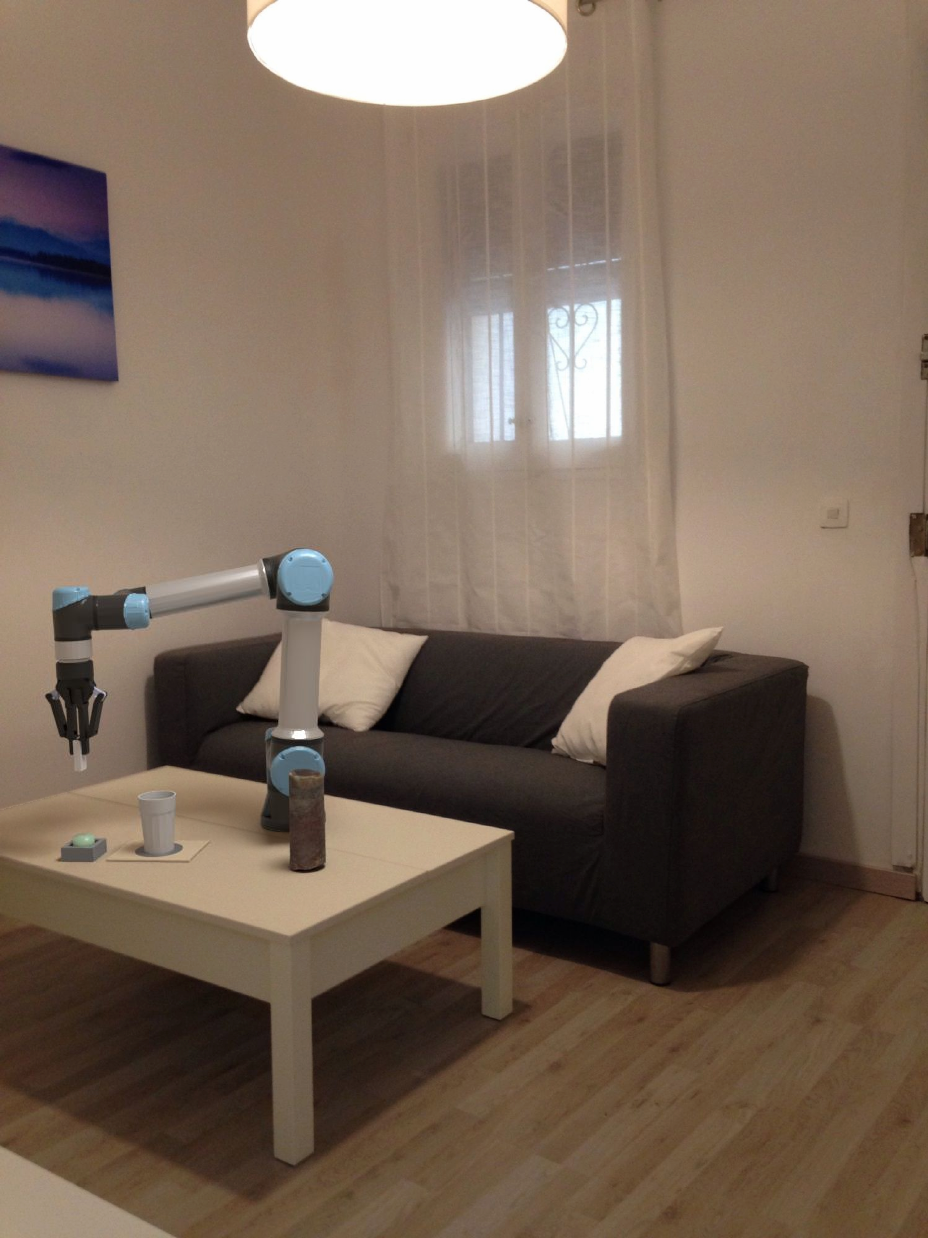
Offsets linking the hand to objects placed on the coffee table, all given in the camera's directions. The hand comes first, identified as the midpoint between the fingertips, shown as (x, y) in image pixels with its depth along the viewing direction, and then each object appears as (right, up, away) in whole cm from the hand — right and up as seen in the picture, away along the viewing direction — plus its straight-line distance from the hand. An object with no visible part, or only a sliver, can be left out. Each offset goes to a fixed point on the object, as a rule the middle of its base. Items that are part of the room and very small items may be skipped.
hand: (80, 769), depth 238 cm
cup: (+16, -18, +4) cm, 24 cm away
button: (0, -18, +2) cm, 18 cm away
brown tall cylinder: (+50, -19, -8) cm, 54 cm away
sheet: (+15, -18, +4) cm, 24 cm away
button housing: (0, -19, +2) cm, 19 cm away
